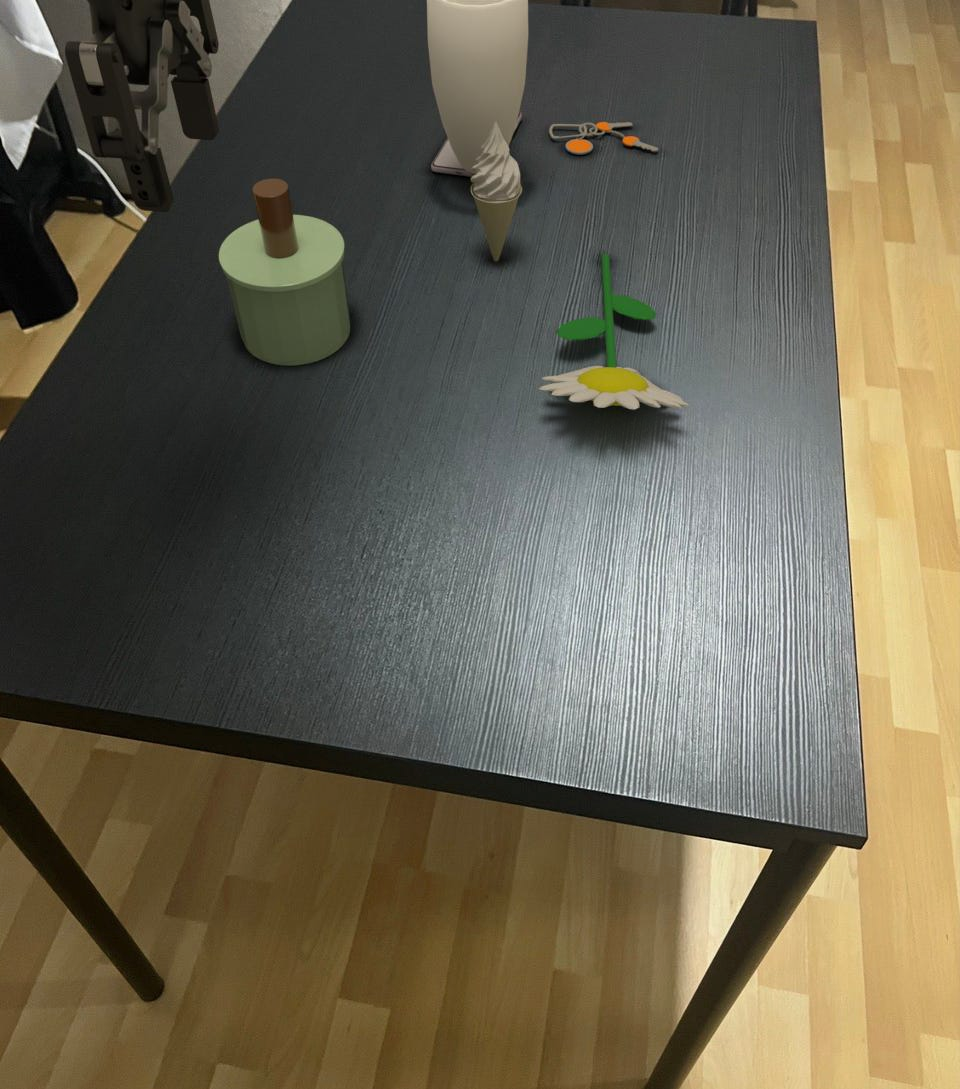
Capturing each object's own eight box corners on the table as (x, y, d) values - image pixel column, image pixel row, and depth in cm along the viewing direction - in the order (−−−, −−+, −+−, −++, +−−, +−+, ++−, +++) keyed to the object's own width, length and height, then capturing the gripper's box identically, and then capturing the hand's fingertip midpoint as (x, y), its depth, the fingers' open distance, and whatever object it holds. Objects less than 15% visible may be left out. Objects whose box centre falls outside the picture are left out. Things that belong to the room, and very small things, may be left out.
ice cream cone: (495, 240, 106) (496, 101, 94) (530, 260, 103) (535, 119, 92) (461, 260, 103) (457, 120, 92) (496, 280, 101) (496, 139, 90)
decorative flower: (541, 277, 105) (534, 449, 83) (546, 234, 102) (539, 401, 79) (662, 287, 105) (686, 462, 83) (670, 244, 101) (698, 414, 79)
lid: (282, 314, 85) (267, 240, 80) (195, 266, 90) (175, 193, 84) (371, 254, 91) (363, 181, 85) (285, 212, 95) (272, 140, 90)
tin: (296, 380, 91) (281, 304, 85) (219, 336, 96) (199, 260, 89) (372, 324, 97) (364, 248, 90) (297, 285, 101) (283, 210, 94)
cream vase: (512, 219, 108) (514, 15, 91) (422, 204, 110) (407, 2, 93) (537, 167, 114) (543, -34, 97) (451, 153, 116) (442, -46, 99)
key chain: (549, 155, 116) (549, 148, 116) (548, 123, 121) (548, 117, 121) (659, 155, 116) (659, 148, 115) (653, 124, 121) (654, 117, 120)
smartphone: (428, 166, 114) (467, 104, 123) (429, 173, 114) (467, 111, 124) (489, 174, 112) (523, 111, 121) (489, 181, 113) (523, 117, 122)
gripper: (88, -176, 55) (162, 112, 67) (-35, -85, 46) (77, 230, 58) (220, -171, 54) (270, 120, 66) (121, -77, 45) (201, 240, 57)
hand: (180, 171), depth 62 cm, fingers open, 8 cm apart
